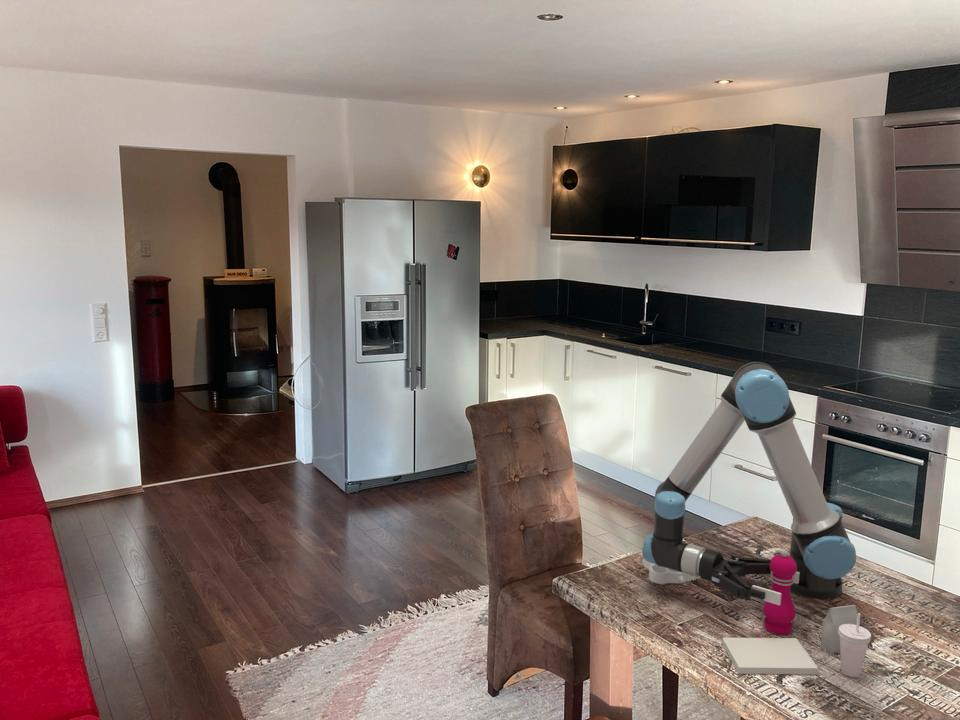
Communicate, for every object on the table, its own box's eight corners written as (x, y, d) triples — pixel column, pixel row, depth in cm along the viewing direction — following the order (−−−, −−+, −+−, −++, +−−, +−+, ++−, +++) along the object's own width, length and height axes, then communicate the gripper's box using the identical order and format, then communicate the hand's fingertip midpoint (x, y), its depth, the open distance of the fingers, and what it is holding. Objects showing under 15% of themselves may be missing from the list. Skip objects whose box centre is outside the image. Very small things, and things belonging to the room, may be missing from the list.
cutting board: (795, 644, 179) (796, 638, 179) (817, 674, 167) (818, 668, 167) (721, 643, 179) (722, 637, 179) (738, 673, 167) (739, 667, 167)
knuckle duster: (685, 558, 225) (718, 579, 212) (632, 568, 218) (663, 591, 205) (685, 547, 224) (719, 568, 211) (632, 557, 217) (664, 579, 204)
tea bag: (857, 649, 177) (861, 609, 175) (831, 653, 176) (835, 612, 174) (845, 641, 181) (849, 601, 179) (820, 644, 179) (824, 604, 177)
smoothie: (853, 684, 164) (860, 622, 161) (827, 668, 170) (833, 609, 167) (873, 676, 167) (880, 615, 164) (847, 661, 173) (853, 602, 170)
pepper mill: (796, 638, 182) (804, 557, 178) (764, 634, 183) (770, 554, 180) (791, 622, 189) (797, 545, 185) (759, 619, 190) (766, 542, 186)
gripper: (721, 560, 206) (804, 584, 193) (681, 595, 187) (771, 624, 174) (723, 533, 205) (807, 555, 192) (683, 566, 185) (773, 593, 172)
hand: (790, 588), depth 183 cm, fingers open, 13 cm apart
